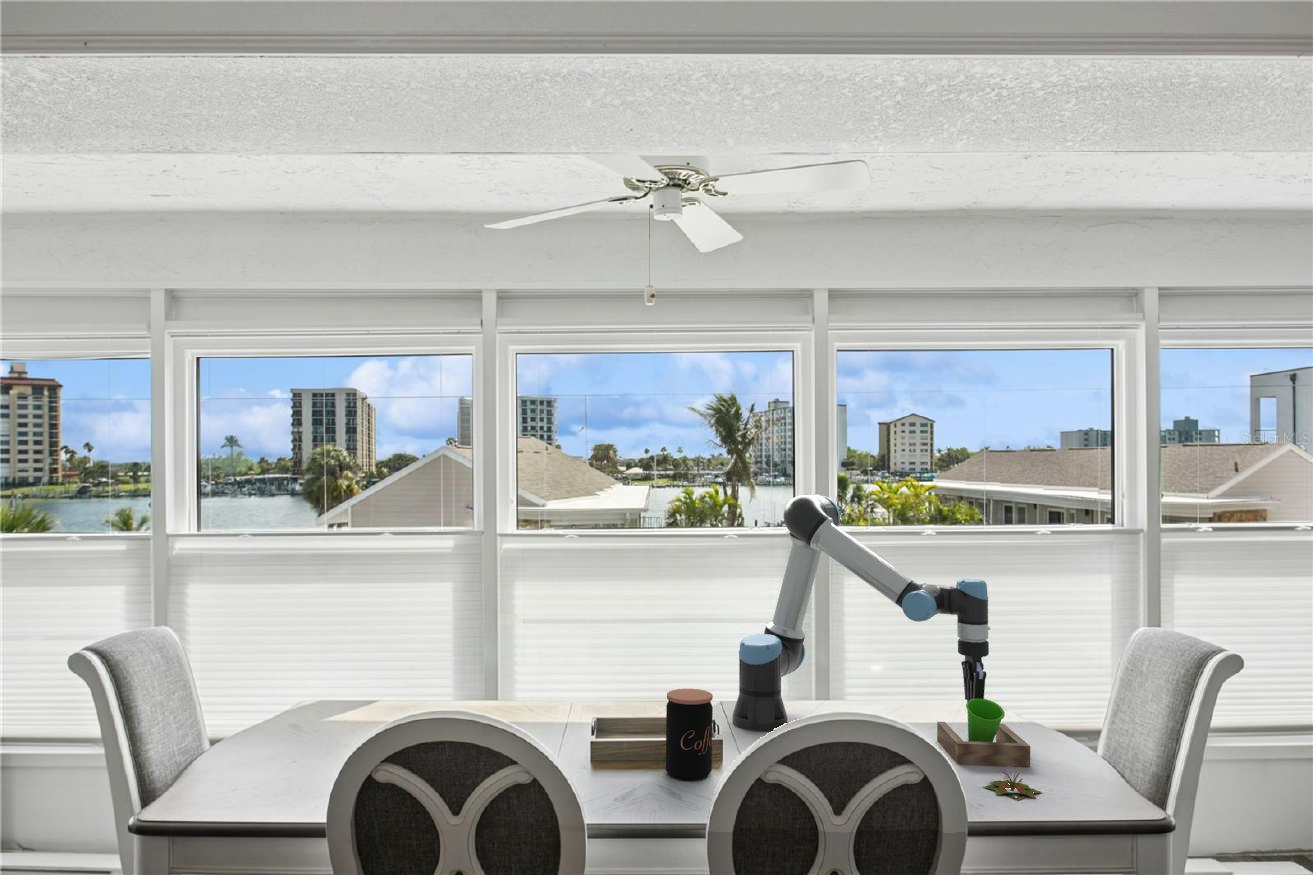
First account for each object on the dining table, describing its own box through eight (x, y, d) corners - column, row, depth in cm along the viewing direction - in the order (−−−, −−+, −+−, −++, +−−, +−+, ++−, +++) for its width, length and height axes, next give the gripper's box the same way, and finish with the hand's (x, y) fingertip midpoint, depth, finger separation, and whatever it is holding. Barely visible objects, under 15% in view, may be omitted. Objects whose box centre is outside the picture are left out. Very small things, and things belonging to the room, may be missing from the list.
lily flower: (1053, 796, 181) (1053, 775, 182) (1020, 807, 175) (1020, 785, 175) (1005, 779, 192) (1005, 759, 192) (971, 789, 185) (971, 768, 185)
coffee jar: (679, 785, 184) (680, 702, 184) (657, 769, 193) (658, 691, 194) (720, 777, 189) (721, 697, 189) (696, 763, 198) (697, 686, 199)
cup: (992, 736, 214) (998, 699, 211) (1002, 759, 206) (1009, 722, 202) (956, 733, 215) (962, 696, 212) (965, 756, 206) (971, 718, 203)
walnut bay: (957, 764, 199) (957, 743, 200) (937, 741, 217) (937, 721, 218) (1030, 767, 198) (1030, 746, 199) (1003, 743, 216) (1003, 723, 217)
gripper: (996, 644, 210) (998, 739, 208) (979, 634, 222) (981, 724, 221) (965, 644, 210) (967, 739, 209) (951, 634, 223) (952, 723, 222)
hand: (974, 731), depth 215 cm, fingers closed
